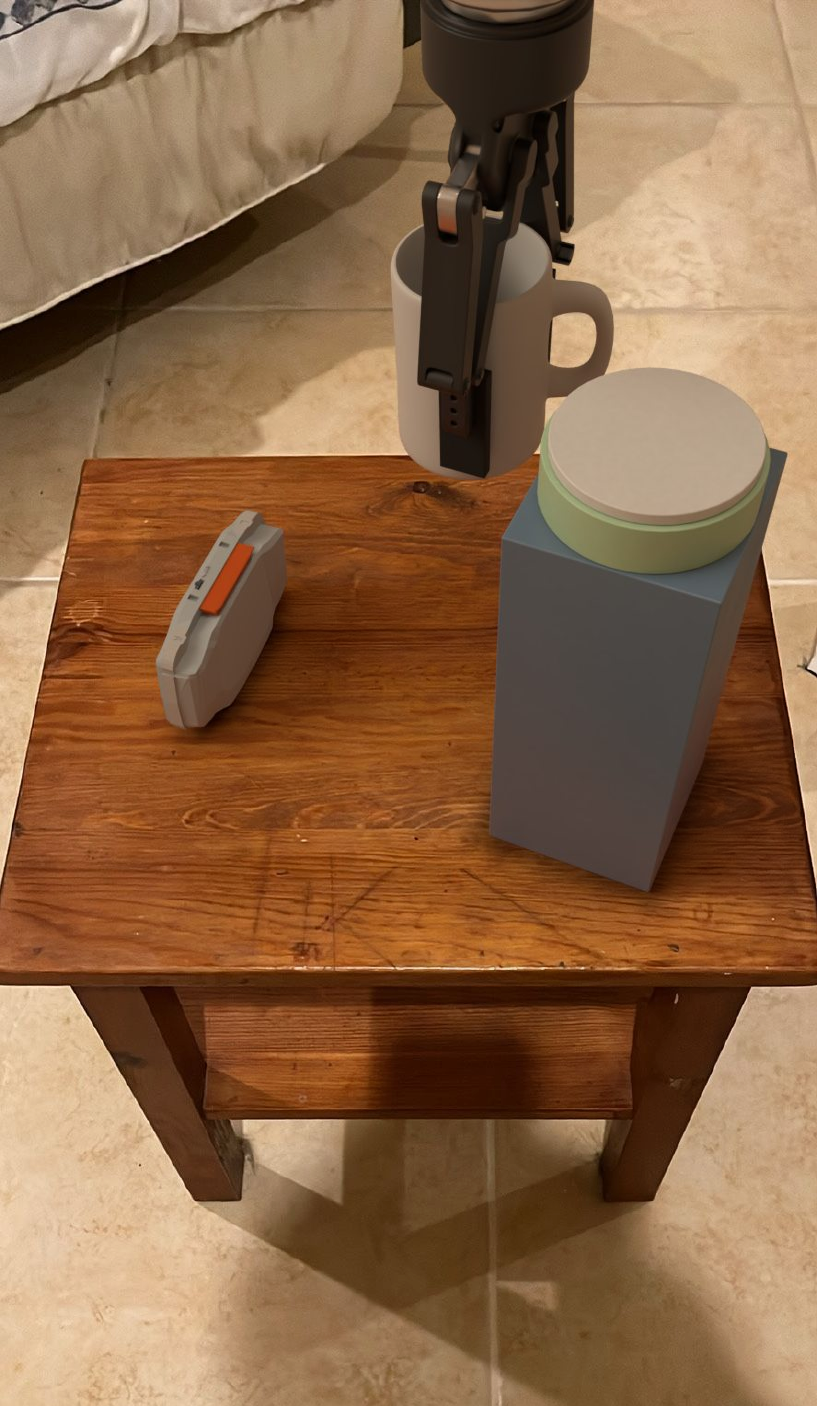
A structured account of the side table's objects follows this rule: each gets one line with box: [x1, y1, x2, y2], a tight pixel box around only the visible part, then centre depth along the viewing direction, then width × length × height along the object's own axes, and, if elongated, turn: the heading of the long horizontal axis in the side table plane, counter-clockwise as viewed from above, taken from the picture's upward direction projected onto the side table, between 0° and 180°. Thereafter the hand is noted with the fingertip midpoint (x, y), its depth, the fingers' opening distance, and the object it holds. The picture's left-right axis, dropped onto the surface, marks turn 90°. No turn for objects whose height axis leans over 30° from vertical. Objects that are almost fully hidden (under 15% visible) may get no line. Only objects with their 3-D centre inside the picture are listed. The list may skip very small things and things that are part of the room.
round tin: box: [537, 367, 771, 574], centre depth 57 cm, size 10×10×3 cm
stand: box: [488, 447, 788, 893], centre depth 68 cm, size 10×10×24 cm
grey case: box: [155, 509, 288, 731], centre depth 82 cm, size 14×3×8 cm, turn 160°
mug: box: [390, 212, 615, 481], centre depth 72 cm, size 12×8×11 cm
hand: (496, 416), depth 75 cm, fingers closed on mug, 8 cm apart
